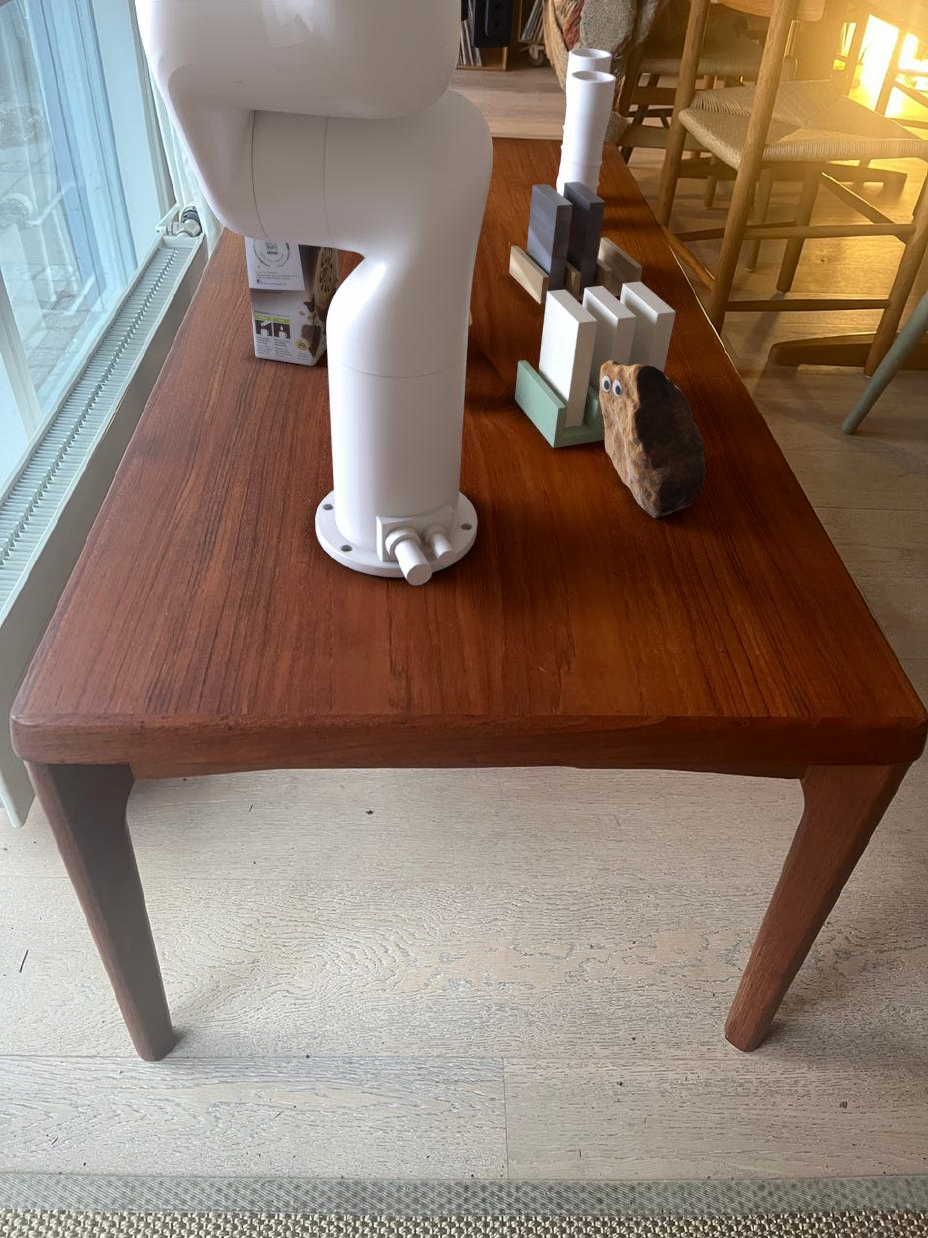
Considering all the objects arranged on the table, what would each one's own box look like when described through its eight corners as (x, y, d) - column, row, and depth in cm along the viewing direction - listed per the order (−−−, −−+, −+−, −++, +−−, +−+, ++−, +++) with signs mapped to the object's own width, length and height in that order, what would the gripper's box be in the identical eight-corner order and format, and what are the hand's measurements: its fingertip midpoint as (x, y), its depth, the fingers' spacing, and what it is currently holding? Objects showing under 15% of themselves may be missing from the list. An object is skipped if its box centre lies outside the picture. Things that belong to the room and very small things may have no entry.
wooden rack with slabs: (601, 270, 117) (615, 174, 110) (637, 301, 111) (654, 201, 104) (508, 280, 114) (516, 181, 106) (539, 312, 108) (549, 210, 100)
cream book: (553, 391, 92) (565, 288, 86) (582, 425, 88) (598, 320, 81) (535, 393, 92) (546, 290, 85) (564, 428, 87) (578, 322, 81)
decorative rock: (580, 451, 87) (597, 337, 79) (641, 441, 88) (663, 329, 81) (644, 528, 78) (669, 409, 71) (709, 516, 80) (740, 399, 73)
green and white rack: (628, 383, 96) (647, 274, 89) (673, 428, 90) (697, 316, 83) (514, 399, 93) (525, 287, 86) (553, 448, 87) (568, 332, 79)
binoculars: (595, 240, 124) (617, 83, 112) (553, 237, 124) (570, 80, 112) (591, 194, 137) (611, 49, 125) (553, 191, 137) (568, 46, 125)
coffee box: (316, 367, 96) (306, 197, 85) (253, 358, 96) (236, 189, 86) (343, 327, 102) (337, 165, 92) (284, 319, 103) (271, 158, 92)
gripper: (580, -233, 65) (552, 56, 77) (486, -241, 77) (474, 10, 88) (476, -239, 63) (463, 59, 74) (396, -247, 75) (395, 11, 86)
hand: (469, 32), depth 81 cm, fingers open, 9 cm apart
